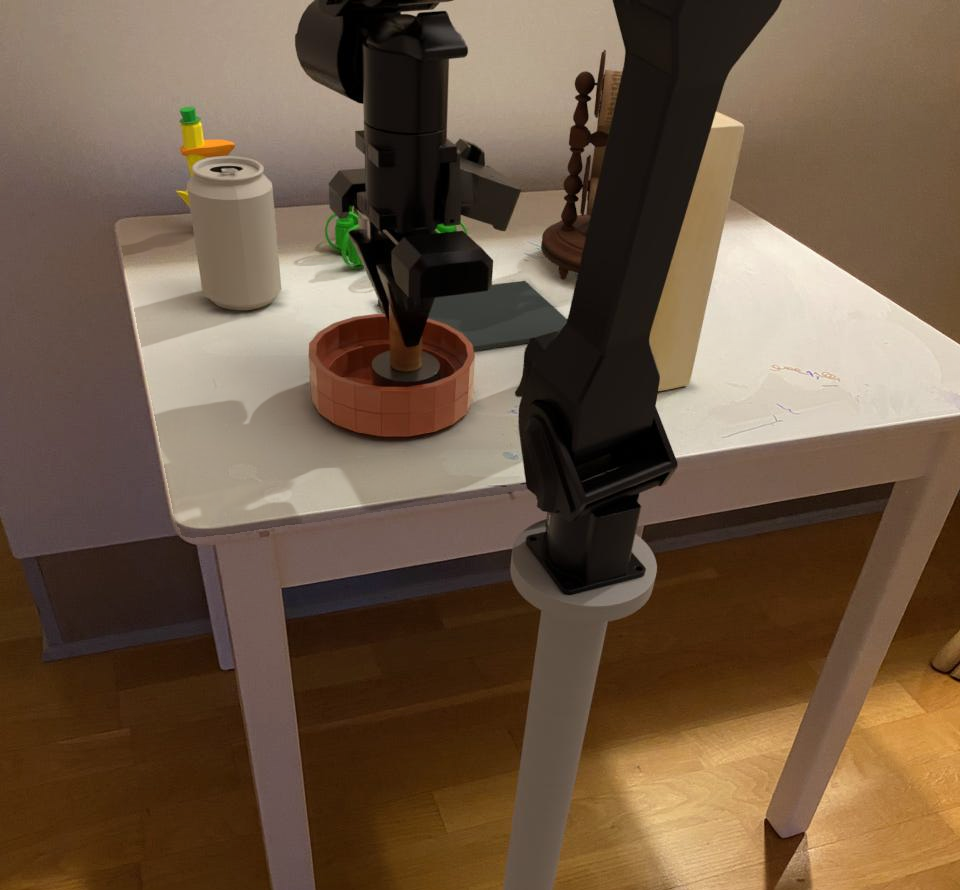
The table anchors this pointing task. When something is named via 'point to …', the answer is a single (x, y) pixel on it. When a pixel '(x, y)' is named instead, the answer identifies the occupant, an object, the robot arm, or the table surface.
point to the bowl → (388, 410)
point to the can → (235, 232)
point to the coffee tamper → (403, 363)
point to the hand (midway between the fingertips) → (404, 337)
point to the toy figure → (198, 143)
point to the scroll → (570, 233)
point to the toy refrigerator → (695, 257)
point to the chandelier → (352, 223)
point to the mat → (498, 315)
